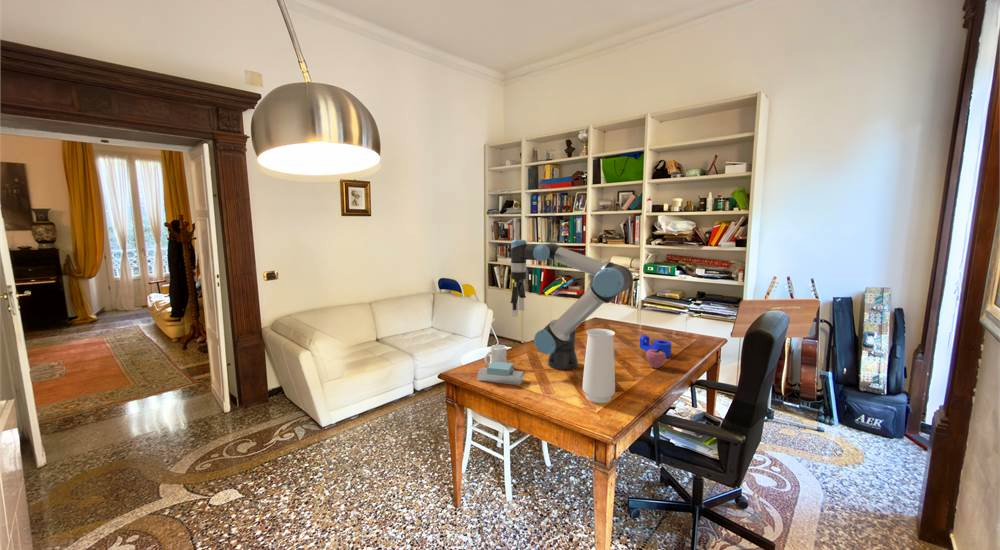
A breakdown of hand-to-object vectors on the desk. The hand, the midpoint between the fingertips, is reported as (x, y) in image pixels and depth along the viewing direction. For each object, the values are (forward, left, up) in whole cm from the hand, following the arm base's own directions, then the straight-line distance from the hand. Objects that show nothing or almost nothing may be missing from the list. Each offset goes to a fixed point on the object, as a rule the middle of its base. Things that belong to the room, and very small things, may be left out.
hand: (518, 313), depth 200 cm
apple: (-67, -15, -27) cm, 74 cm away
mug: (+10, +7, -27) cm, 30 cm away
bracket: (-69, -39, -27) cm, 84 cm away
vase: (-41, +29, -27) cm, 57 cm away
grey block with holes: (+3, +22, -27) cm, 35 cm away
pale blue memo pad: (+3, +22, -26) cm, 34 cm away
